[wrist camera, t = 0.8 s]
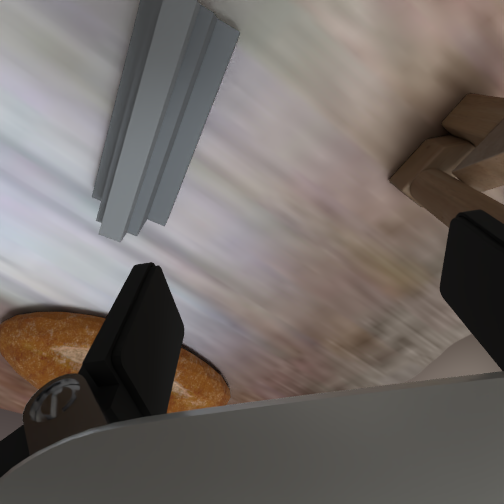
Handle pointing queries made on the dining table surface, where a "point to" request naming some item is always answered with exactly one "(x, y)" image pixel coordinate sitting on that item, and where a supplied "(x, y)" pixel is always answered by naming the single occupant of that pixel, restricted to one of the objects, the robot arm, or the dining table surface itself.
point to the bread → (77, 346)
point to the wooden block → (459, 162)
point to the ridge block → (159, 111)
